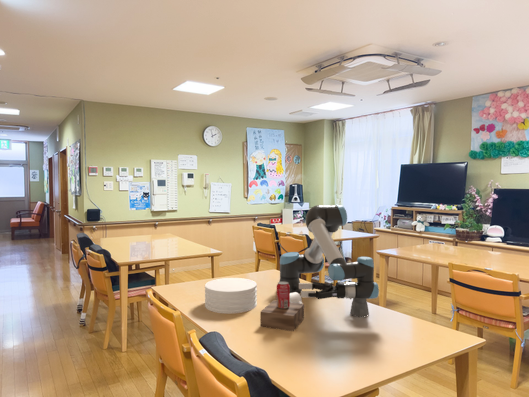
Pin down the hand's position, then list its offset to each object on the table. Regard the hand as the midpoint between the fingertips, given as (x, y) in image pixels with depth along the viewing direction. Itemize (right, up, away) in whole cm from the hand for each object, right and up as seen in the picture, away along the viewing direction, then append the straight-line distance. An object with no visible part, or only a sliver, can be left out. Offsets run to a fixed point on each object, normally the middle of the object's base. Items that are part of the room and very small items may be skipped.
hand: (299, 290), depth 182 cm
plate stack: (-35, -15, +27) cm, 47 cm away
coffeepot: (+31, -15, +13) cm, 37 cm away
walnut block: (-8, -16, +1) cm, 17 cm away
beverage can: (-8, -9, +1) cm, 12 cm away
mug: (-2, -15, +19) cm, 24 cm away
